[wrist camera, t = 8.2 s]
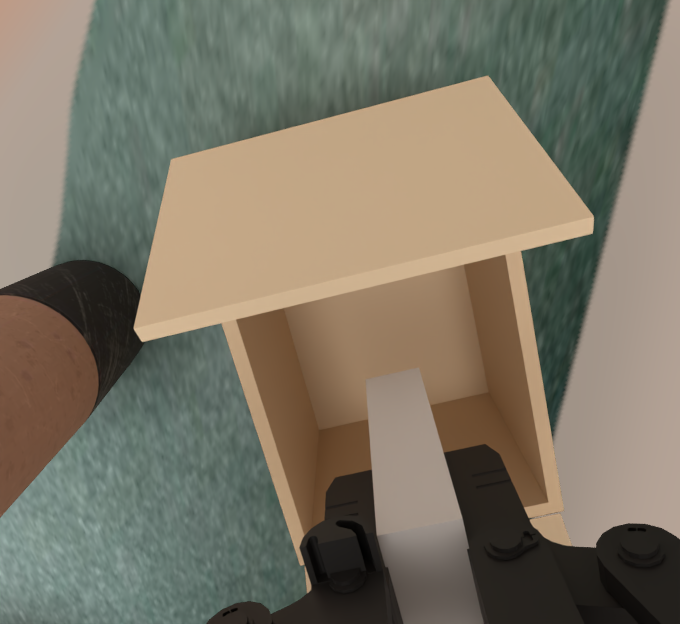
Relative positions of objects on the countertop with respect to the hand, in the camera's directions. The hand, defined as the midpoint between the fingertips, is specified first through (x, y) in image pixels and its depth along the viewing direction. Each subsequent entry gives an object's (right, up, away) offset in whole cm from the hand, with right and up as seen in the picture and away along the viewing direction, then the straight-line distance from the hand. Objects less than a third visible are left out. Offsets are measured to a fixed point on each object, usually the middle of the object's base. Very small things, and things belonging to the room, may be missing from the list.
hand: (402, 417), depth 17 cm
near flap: (-2, +6, +2) cm, 7 cm away
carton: (0, +5, +19) cm, 20 cm away
